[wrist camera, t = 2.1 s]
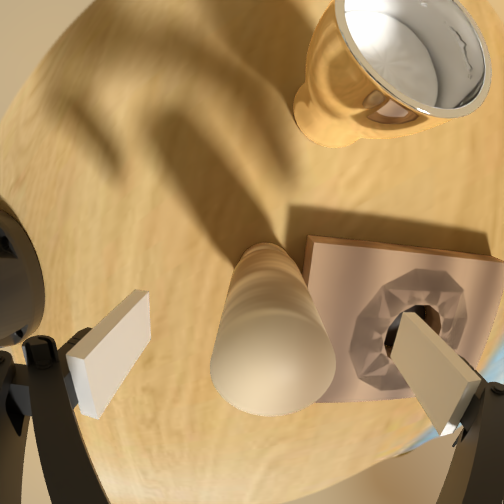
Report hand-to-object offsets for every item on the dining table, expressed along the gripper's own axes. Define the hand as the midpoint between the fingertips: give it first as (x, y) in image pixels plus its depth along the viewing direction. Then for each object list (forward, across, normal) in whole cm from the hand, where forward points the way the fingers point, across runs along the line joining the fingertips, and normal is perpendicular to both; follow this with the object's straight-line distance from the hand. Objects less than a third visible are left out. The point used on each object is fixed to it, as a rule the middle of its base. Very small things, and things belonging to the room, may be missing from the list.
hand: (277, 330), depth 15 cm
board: (+10, +12, -4) cm, 17 cm away
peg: (+10, -1, 0) cm, 10 cm away
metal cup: (+10, +3, +13) cm, 17 cm away
